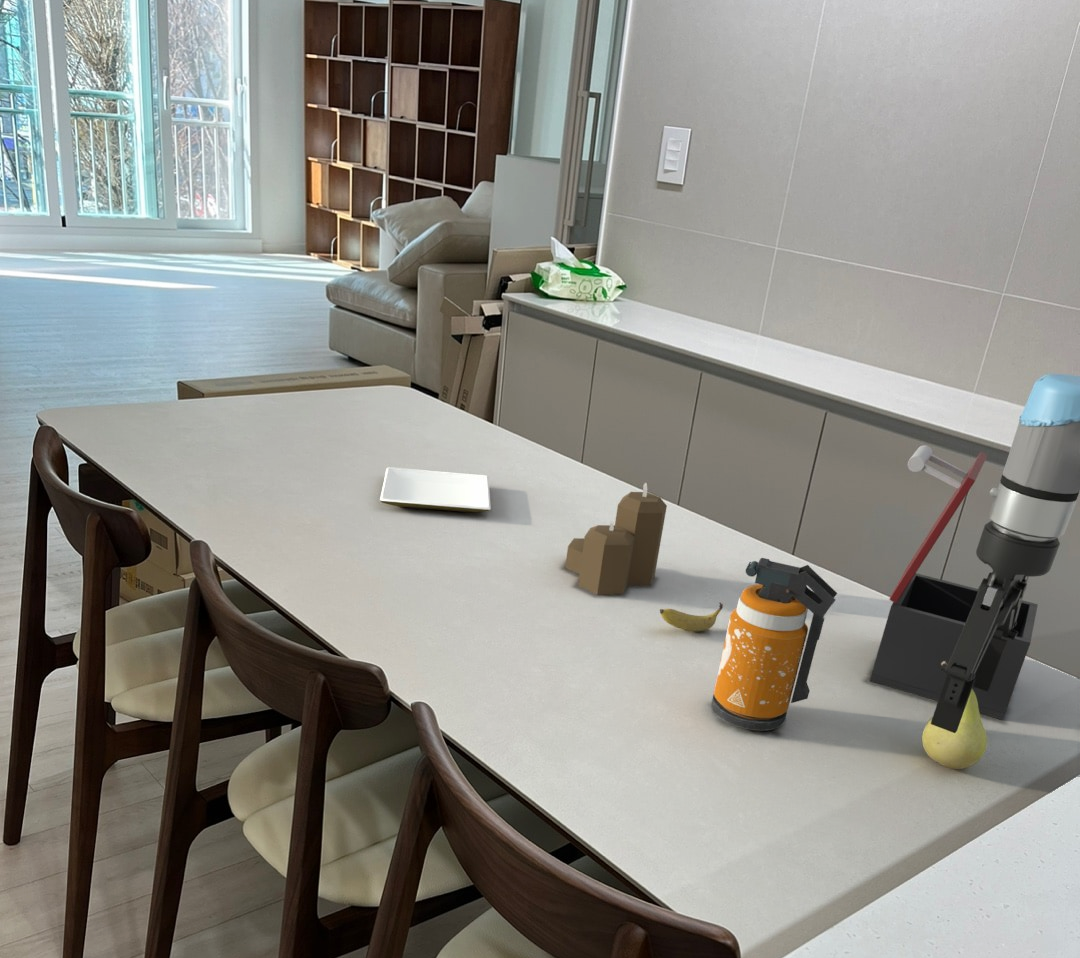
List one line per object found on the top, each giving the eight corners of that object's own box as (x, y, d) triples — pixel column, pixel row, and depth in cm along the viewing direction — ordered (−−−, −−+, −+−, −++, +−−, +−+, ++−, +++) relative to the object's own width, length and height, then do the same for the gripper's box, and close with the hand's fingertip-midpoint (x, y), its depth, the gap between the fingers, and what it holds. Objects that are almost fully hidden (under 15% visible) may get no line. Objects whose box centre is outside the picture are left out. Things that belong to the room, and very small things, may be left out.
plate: (487, 485, 197) (488, 475, 196) (489, 520, 180) (490, 508, 179) (386, 477, 195) (386, 466, 194) (379, 510, 178) (379, 499, 177)
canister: (717, 691, 133) (750, 542, 124) (805, 714, 131) (845, 563, 121) (703, 723, 126) (736, 566, 116) (796, 747, 123) (838, 589, 114)
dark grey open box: (1011, 676, 147) (1038, 604, 142) (1002, 720, 135) (1030, 642, 130) (889, 642, 153) (909, 571, 148) (869, 681, 141) (891, 605, 136)
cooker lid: (987, 455, 138) (932, 426, 139) (975, 480, 125) (914, 449, 127) (914, 569, 147) (862, 541, 149) (895, 603, 135) (840, 572, 137)
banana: (660, 638, 146) (665, 611, 144) (652, 630, 147) (657, 604, 146) (722, 632, 150) (728, 606, 148) (713, 625, 151) (718, 599, 150)
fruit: (966, 787, 119) (1000, 694, 114) (902, 761, 123) (932, 669, 117) (984, 765, 124) (1017, 675, 118) (922, 740, 128) (951, 652, 122)
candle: (639, 559, 171) (654, 469, 164) (670, 594, 160) (687, 499, 153) (559, 559, 168) (570, 467, 160) (584, 594, 156) (598, 497, 149)
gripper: (1015, 496, 121) (958, 660, 131) (953, 545, 102) (893, 733, 112) (1084, 515, 118) (1020, 682, 128) (1033, 569, 99) (963, 760, 109)
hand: (960, 706), depth 120 cm, fingers open, 13 cm apart
